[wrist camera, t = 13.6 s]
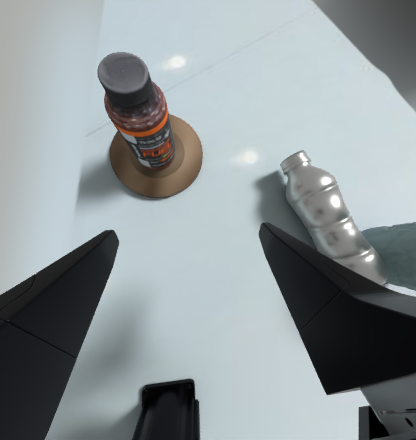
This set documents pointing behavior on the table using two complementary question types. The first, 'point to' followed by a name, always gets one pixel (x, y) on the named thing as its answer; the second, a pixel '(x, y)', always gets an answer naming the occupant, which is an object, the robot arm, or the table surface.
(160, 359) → the table surface
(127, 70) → the supplement bottle
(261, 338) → the table surface
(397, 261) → the grey-green cup
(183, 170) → the disc
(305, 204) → the plastic bottle
